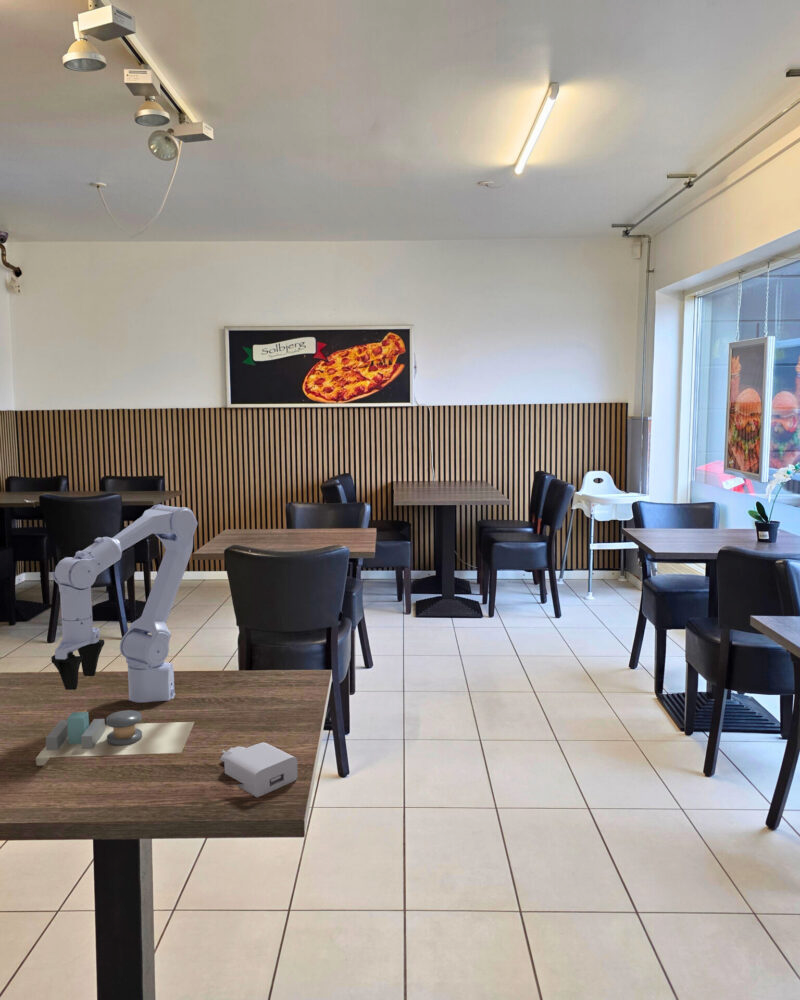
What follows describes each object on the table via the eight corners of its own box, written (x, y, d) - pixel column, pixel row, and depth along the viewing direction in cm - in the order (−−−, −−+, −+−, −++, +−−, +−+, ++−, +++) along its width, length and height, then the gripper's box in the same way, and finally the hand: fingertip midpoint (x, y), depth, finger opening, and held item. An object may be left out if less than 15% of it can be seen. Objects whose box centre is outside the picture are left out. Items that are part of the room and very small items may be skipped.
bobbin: (145, 731, 154) (144, 709, 153) (137, 745, 148) (136, 723, 147) (112, 732, 153) (111, 710, 153) (102, 746, 147) (101, 724, 146)
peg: (89, 736, 151) (88, 711, 151) (84, 743, 148) (83, 718, 148) (73, 737, 151) (72, 712, 150) (68, 743, 148) (67, 718, 147)
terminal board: (194, 728, 159) (194, 721, 158) (181, 760, 145) (181, 752, 145) (62, 733, 156) (62, 726, 156) (36, 765, 143) (35, 757, 142)
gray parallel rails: (105, 730, 154) (104, 718, 154) (92, 748, 146) (92, 735, 146) (61, 732, 153) (60, 720, 153) (46, 750, 145) (45, 737, 145)
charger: (247, 754, 148) (297, 780, 138) (205, 771, 141) (255, 799, 131) (246, 730, 147) (297, 755, 137) (204, 746, 141) (254, 773, 130)
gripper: (78, 628, 149) (81, 696, 151) (112, 608, 164) (115, 670, 165) (43, 627, 150) (47, 695, 151) (80, 607, 164) (83, 669, 166)
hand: (80, 682), depth 158 cm, fingers open, 7 cm apart
